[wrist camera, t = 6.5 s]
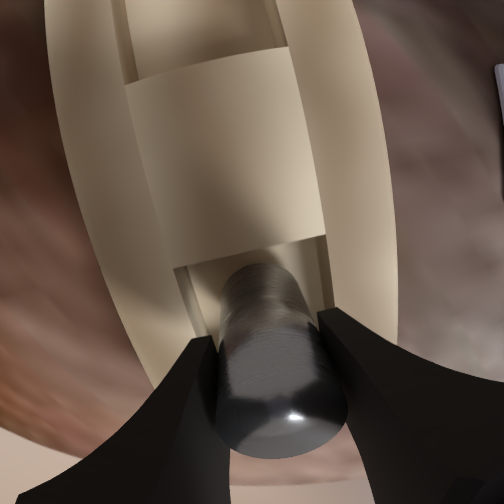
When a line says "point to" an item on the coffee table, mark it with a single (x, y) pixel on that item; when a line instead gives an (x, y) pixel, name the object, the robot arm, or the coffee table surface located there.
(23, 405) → the coffee table surface
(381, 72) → the coffee table surface
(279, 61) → the tool board
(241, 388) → the grey cylinder
